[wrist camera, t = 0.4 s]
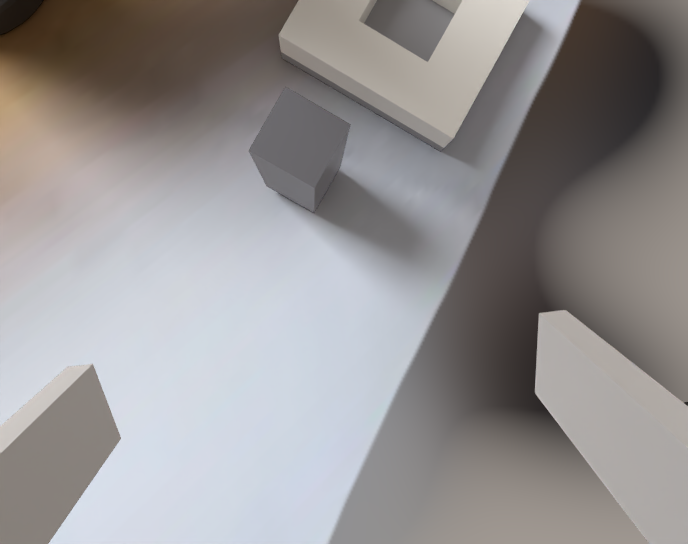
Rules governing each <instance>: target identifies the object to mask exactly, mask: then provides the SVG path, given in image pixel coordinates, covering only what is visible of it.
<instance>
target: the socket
mask: <svg viewBox="0 0 688 544" xmlns="http://www.w3.org/2000/svg"><path fill="white" fill-rule="evenodd" d="M529 1H530V0H299V1H298V2H297V4H296V6H295V7H294V9H293V11H292V13H291V14H290V16H289V18H288V19H287V21H286V23H285V24H284V26H283V28H282V30H281V31H280V33H279V42H280V49H281V56H282V58H283V59H284V60H286V61H288V62H290V63H291V64H293V65H295V66H296V67H298V68H300V69H301V70H303V71H305V72H307V73H308V74H310V75H312V76H313V77H315V78H317V79H318V80H320V81H322V82H324V83H325V84H327V85H329V86H330V87H332V88H334V89H335V90H337V91H339V92H340V93H342V94H344V95H346V96H347V97H349V98H351V99H352V100H354V101H356V102H357V103H359V104H361V105H363V106H364V107H366V108H368V109H369V110H371V111H373V112H374V113H376V114H378V115H379V116H381V117H383V118H385V119H386V120H388V121H390V122H391V123H393V124H395V125H396V126H398V127H400V128H402V129H403V130H405V131H407V132H408V133H410V134H412V135H413V136H415V137H417V138H419V139H420V140H422V141H424V142H425V143H427V144H429V145H430V146H432V147H434V148H435V149H437V150H439V151H442V150H443V149H444V148H445V147H446V146H447V145H448V144H449V143H450V142H451V141H452V140H453V139H454V137H455V135H456V133H457V131H458V130H459V128H460V126H461V124H462V122H463V120H464V119H465V117H466V115H467V113H468V111H469V110H470V108H471V106H472V104H473V102H474V101H475V99H476V97H477V95H478V93H479V91H480V90H481V88H482V86H483V84H484V82H485V81H486V79H487V77H488V75H489V73H490V71H491V70H492V68H493V66H494V64H495V62H496V61H497V59H498V57H499V55H500V53H501V51H502V50H503V48H504V46H505V44H506V42H507V41H508V39H509V37H510V35H511V33H512V32H513V30H514V28H515V26H516V24H517V22H518V21H519V19H520V17H521V15H522V13H523V12H524V10H525V8H526V6H527V4H528V2H529Z"/></svg>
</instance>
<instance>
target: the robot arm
mask: <svg viewBox="0 0 688 544" xmlns="http://www.w3.org/2000/svg"><path fill="white" fill-rule="evenodd" d="M42 1H43V0H0V35H1V34H3V33H6V32H8V31H10V30H12V29H14V28H15V27H17V26H18V25H20V24H21V23H23V22H24V21H25V20H26V19H27V18H29V17H30V16H31V15H32V14H33V13H34V12H35V11H36V9H37V8H38V7H39V6H40V4H41V3H42ZM536 363H537V364H536V382H535V394H536V395H537V396H538V398H539V399H540V400H541V402H542V403H543V404H544V405H545V407H546V408H547V409H548V411H549V412H550V413H551V415H552V416H553V417H554V419H555V420H556V421H557V423H558V424H559V425H560V427H561V428H562V429H563V430H564V432H565V433H566V435H567V436H568V437H569V439H570V440H571V441H572V443H573V444H574V445H575V447H576V448H577V449H578V451H579V452H580V453H581V454H582V456H583V457H584V458H585V460H586V461H587V462H588V464H589V465H590V466H591V468H592V469H593V470H594V472H595V473H596V474H597V476H598V477H599V478H600V479H601V481H602V482H603V483H604V485H605V486H606V487H607V489H608V490H609V492H610V493H611V494H612V496H613V497H614V498H615V499H616V501H617V502H618V504H619V505H620V506H621V507H622V509H623V510H624V511H625V513H626V514H627V515H628V517H629V518H630V519H631V521H632V522H633V523H634V525H635V526H636V527H637V529H638V530H639V531H640V533H641V534H642V535H643V537H644V538H645V539H646V541H647V542H648V543H649V544H688V402H684V403H683V402H682V401H680V400H679V399H678V398H677V397H675V396H674V395H673V394H672V393H670V392H669V391H668V390H667V389H665V388H664V387H662V386H661V385H660V384H658V382H656V381H655V380H654V379H653V378H651V377H650V376H649V375H647V374H646V373H645V372H644V371H642V370H641V369H640V368H639V367H637V366H636V365H635V364H634V363H632V362H631V361H630V360H628V359H627V358H626V357H625V356H623V355H622V354H621V353H620V352H618V351H617V350H616V349H614V348H613V347H612V346H611V345H609V344H608V343H607V342H605V341H604V340H603V339H602V338H600V337H599V336H598V335H597V334H595V333H594V332H593V331H592V330H590V329H589V328H588V327H587V326H585V325H584V324H583V323H581V322H580V321H579V320H578V319H576V318H575V317H574V316H572V315H571V314H570V313H569V312H567V311H566V310H562V311H554V312H545V313H539V324H538V343H537V362H536ZM120 439H121V437H120V434H119V432H118V429H117V427H116V424H115V421H114V419H113V416H112V413H111V411H110V408H109V405H108V403H107V400H106V398H105V395H104V392H103V390H102V387H101V384H100V382H99V379H98V376H97V374H96V371H95V369H94V366H93V364H88V365H79V366H70V367H67V368H65V369H64V370H63V371H62V372H61V373H60V374H59V375H58V376H56V377H55V378H54V379H53V380H52V381H51V382H50V383H49V384H47V385H46V386H45V387H44V388H43V389H42V390H41V391H40V392H38V393H37V394H36V395H35V396H34V397H33V398H32V399H31V400H29V401H28V402H27V403H26V404H25V405H24V406H23V407H22V408H20V409H19V410H18V411H17V412H16V413H15V414H14V415H13V416H11V417H10V418H9V419H8V420H7V421H6V422H5V423H4V424H2V425H1V426H0V544H48V543H49V542H50V540H51V539H52V537H53V536H54V535H55V533H56V532H57V530H58V529H59V527H60V526H61V524H62V523H63V522H64V520H65V519H66V517H67V516H68V514H69V513H70V511H71V510H72V509H73V507H74V506H75V504H76V503H77V501H78V500H79V498H80V497H81V495H82V494H83V493H84V491H85V490H86V488H87V487H88V485H89V484H90V482H91V481H92V480H93V478H94V477H95V475H96V474H97V472H98V471H99V469H100V468H101V467H102V465H103V464H104V462H105V461H106V459H107V458H108V456H109V455H110V454H111V452H112V451H113V449H114V448H115V446H116V445H117V443H118V442H119V441H120Z"/></svg>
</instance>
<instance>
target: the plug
mask: <svg viewBox="0 0 688 544" xmlns="http://www.w3.org/2000/svg"><path fill="white" fill-rule="evenodd" d="M350 125H351V124H349V123H347V122H345V121H344V120H342V119H340V118H339V117H337V116H335V115H333V114H332V113H330V112H328V111H327V110H325V109H323V108H321V107H320V106H318V105H316V104H315V103H313V102H311V101H310V100H308V99H306V98H304V97H303V96H301V95H299V94H298V93H296V92H294V91H292V90H291V89H289V88H287V87H285V89H284V90H283V92H282V94H281V95H280V97H279V99H278V101H277V102H276V104H275V106H274V107H273V109H272V111H271V113H270V114H269V116H268V118H267V120H266V121H265V123H264V125H263V126H262V128H261V130H260V132H259V133H258V135H257V137H256V139H255V140H254V142H253V144H252V145H251V147H250V149H249V152H250V154H251V156H252V158H253V160H254V162H255V164H256V166H257V168H258V170H259V172H260V174H261V176H262V178H263V180H264V182H265V184H266V186H267V187H269V188H271V189H273V190H274V191H276V192H278V193H280V194H281V195H283V196H285V197H287V198H288V199H290V200H292V201H294V202H296V203H297V204H299V205H301V206H303V207H304V208H306V209H308V210H310V211H311V212H313V213H314V212H315V211H316V209H317V207H318V205H319V204H320V202H321V200H322V198H323V196H324V195H325V193H326V191H327V189H328V188H329V186H330V184H331V182H332V181H333V179H334V177H335V175H336V173H337V172H338V170H339V168H340V166H341V162H342V158H343V153H344V149H345V145H346V141H347V137H348V133H349V129H350Z"/></svg>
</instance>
